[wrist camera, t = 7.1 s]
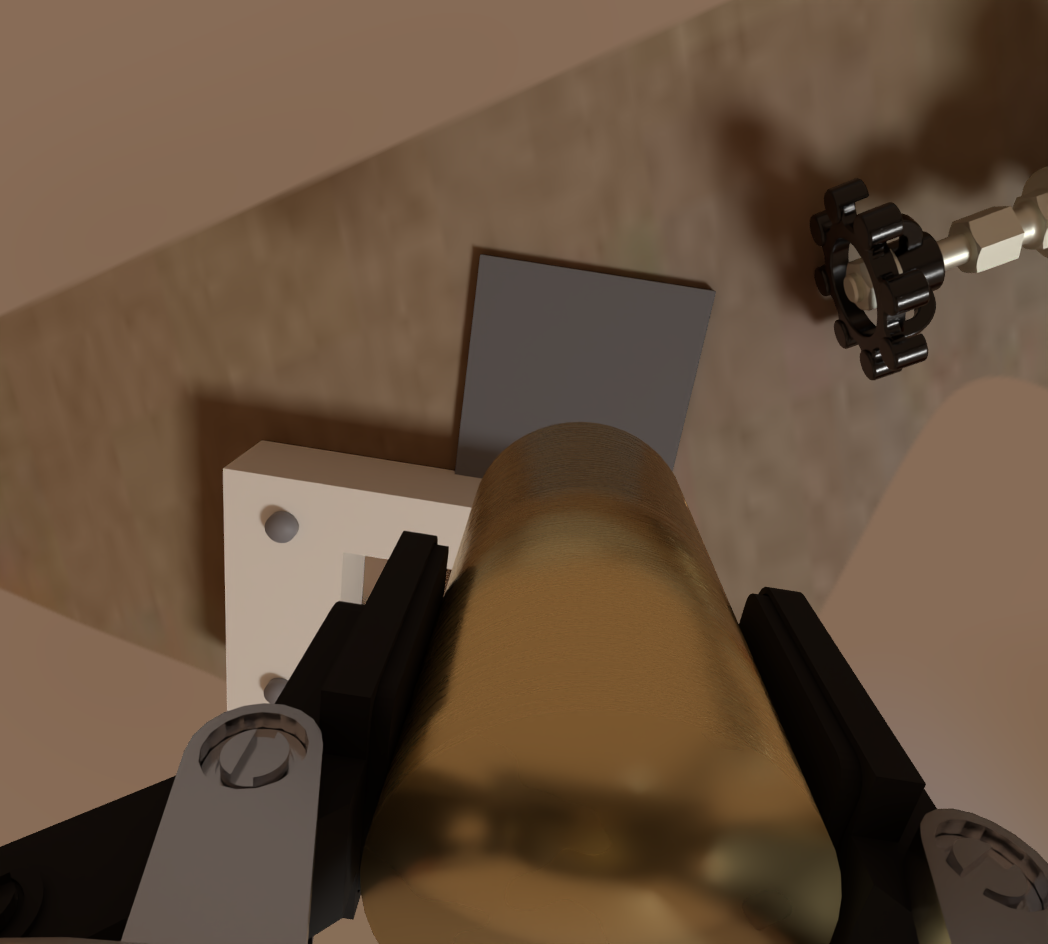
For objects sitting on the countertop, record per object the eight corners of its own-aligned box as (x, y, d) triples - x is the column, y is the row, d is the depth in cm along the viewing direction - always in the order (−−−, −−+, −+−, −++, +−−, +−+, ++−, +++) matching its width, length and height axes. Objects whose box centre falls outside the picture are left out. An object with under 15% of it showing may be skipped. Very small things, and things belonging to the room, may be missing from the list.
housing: (628, 497, 29) (636, 538, 25) (579, 718, 33) (581, 780, 29) (261, 440, 29) (217, 472, 25) (260, 667, 33) (222, 722, 30)
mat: (713, 290, 26) (715, 291, 25) (662, 503, 29) (663, 507, 28) (481, 254, 26) (480, 254, 25) (456, 470, 29) (454, 474, 28)
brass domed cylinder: (708, 440, 14) (914, 758, 6) (660, 628, 16) (766, 1081, 8) (485, 406, 14) (374, 676, 6) (461, 598, 16) (349, 1017, 8)
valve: (1154, 49, 22) (793, 193, 24) (1382, -17, 16) (871, 185, 18) (1168, 244, 24) (834, 361, 26) (1374, 252, 18) (916, 405, 20)
